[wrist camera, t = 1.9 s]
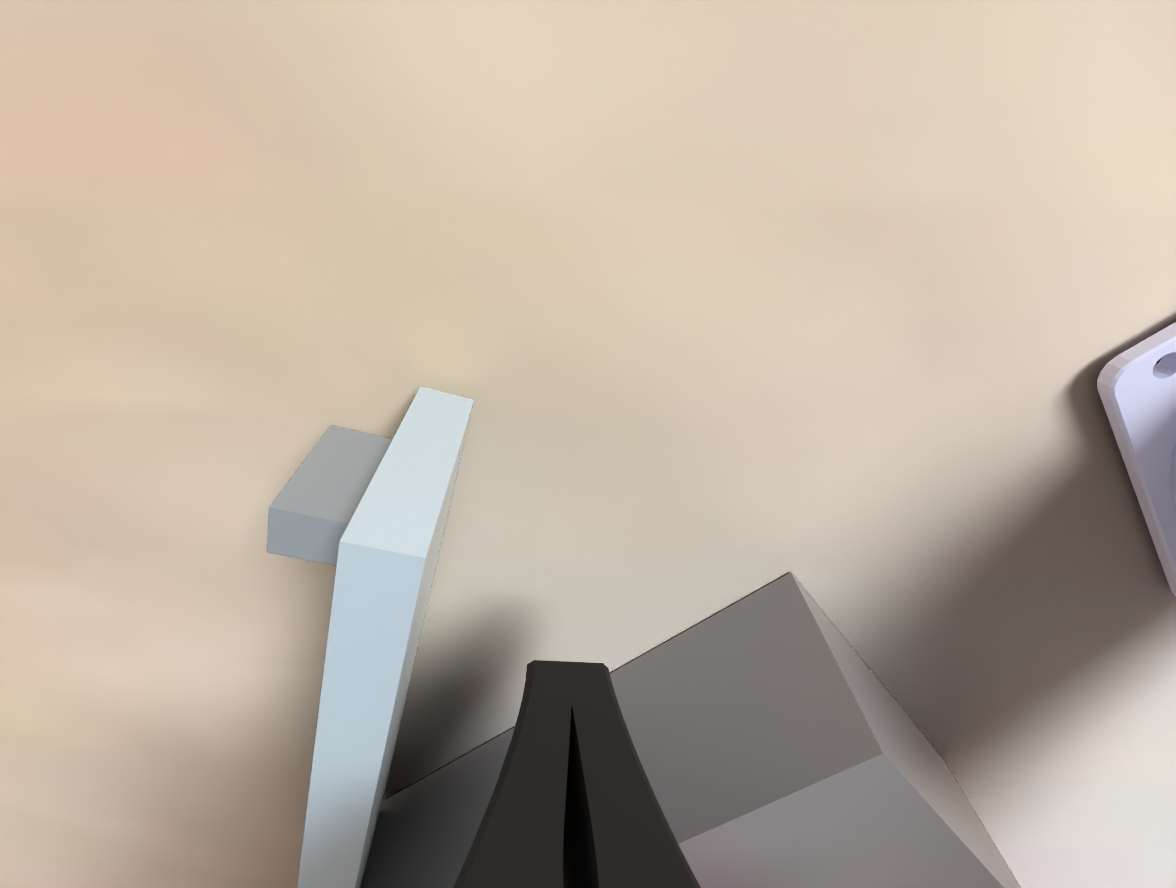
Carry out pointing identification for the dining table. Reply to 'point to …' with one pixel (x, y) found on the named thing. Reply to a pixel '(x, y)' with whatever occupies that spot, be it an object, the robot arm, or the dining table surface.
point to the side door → (367, 607)
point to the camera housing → (745, 768)
